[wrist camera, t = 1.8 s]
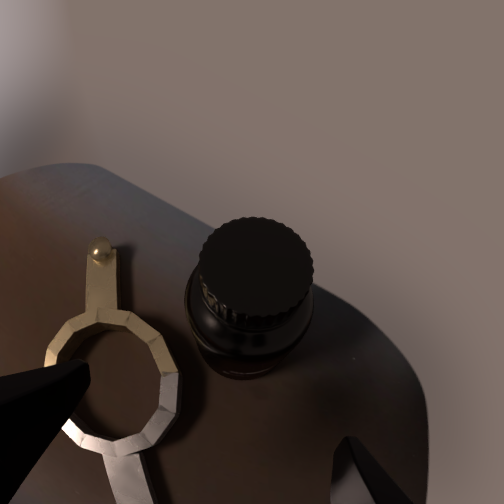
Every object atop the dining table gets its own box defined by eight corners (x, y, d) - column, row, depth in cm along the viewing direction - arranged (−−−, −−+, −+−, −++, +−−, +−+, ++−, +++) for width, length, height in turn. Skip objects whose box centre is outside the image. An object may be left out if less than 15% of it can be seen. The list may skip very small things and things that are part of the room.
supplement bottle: (243, 399, 19) (257, 385, 9) (180, 337, 21) (136, 259, 11) (303, 337, 22) (365, 262, 12) (242, 283, 24) (251, 177, 14)
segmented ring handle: (238, 560, 11) (239, 570, 9) (103, 558, 9) (94, 565, 7) (182, 372, 20) (177, 368, 18) (54, 383, 17) (41, 379, 16)
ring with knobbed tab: (183, 378, 19) (178, 375, 18) (55, 389, 17) (42, 385, 15) (163, 238, 26) (159, 225, 24) (57, 258, 24) (48, 248, 22)
